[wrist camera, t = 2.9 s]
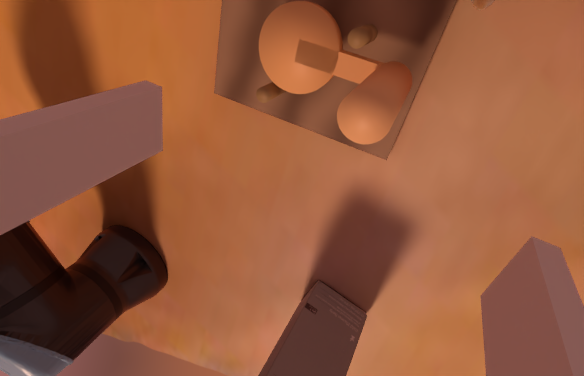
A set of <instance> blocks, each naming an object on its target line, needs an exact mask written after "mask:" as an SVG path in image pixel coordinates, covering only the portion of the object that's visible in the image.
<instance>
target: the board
mask: <svg viewBox="0 0 584 376" xmlns="http://www.w3.org/2000/svg"><path fill="white" fill-rule="evenodd" d="M293 1H308V2H313V3H316V4H318V5H320V6H322V7H323V8H324V9H326V10H327V11H328V12H329V13H330V14H331V15H332V16H333V18H334V19H335V21H336V23H337V24H338V26H339V29H340V32H341V35H342V41H343V50H345V51H348V52H352V53H355V54H358V55H361V56H364V57H367V58H370V59H373V60H376V61H379V62H382V63H386V62H390V61H396V62H400V63H402V64H404V65H405V66H407V68H408V69H409V70H410V72H411V75H412V86H411V89H410V91H409V93H408V95H407V97H406V99H405V101H404V103H403V105H402V107H401V109H400V111H399V113H398V115H397V117H396V119H395V121H394V123H393V125H392V127H391V129H390V131H389V132H388V134H387V135H386V136H385V137H384V138H383V139H381V140H380V141H378V142H376V143H373V144H358V143H355V142H353V141H351V140H349V139H348V138H347V137H346V136H345V135H344V134H343V133H342V132H341V130H340V128H339V126H338V122H337V111H338V107H339V105H340V103H341V101H342V100H343V99H344V98H345V97H346V96H347V95H348V94H349V93H350V92H351V91H352V90H354V89H355V88H356V87H357V86H358V85H359V84H358V83H355V82H352V81H349V80H346V79H343V78H340V77H337V76H335V75H334V76H333V78H332V79H331V80H330V81H329V82H328V83H326V84H325V85H324V86H322V87H321V88H319V89H318V90H316V91H313V92H311V93H307V94H294V93H290V92H287V91H285V90H283V89H281V88H279V87H278V86H277V85H276V84H274V83H273V82H272V80H271V79H270V78H269V77H268V75H267V74H266V72H265V70H264V68H263V66H262V63H261V60H260V55H259V37H260V32H261V29H262V26H263V24H264V22H265V20H266V19H267V17H268V16H269V15H270V13H271V12H272V11H273V10H275V9H276V8H277V7H279V6H280V5H282V4H285V3H288V2H293ZM456 1H457V0H222V7H221V19H220V31H219V43H218V54H217V66H216V78H215V90H214V93H215V94H218V95H220V96H223V97H226V98H228V99H231V100H233V101H236V102H238V103H241V104H244V105H246V106H249V107H251V108H254V109H256V110H259V111H262V112H264V113H267V114H269V115H272V116H274V117H277V118H280V119H282V120H285V121H287V122H290V123H292V124H295V125H298V126H300V127H303V128H305V129H308V130H310V131H313V132H316V133H318V134H321V135H323V136H326V137H328V138H331V139H334V140H336V141H339V142H341V143H344V144H346V145H349V146H352V147H354V148H357V149H359V150H362V151H364V152H367V153H370V154H372V155H375V156H377V157H380V158H382V159H385V160H387V158H388V156H389V154H390V151H391V149H392V147H393V145H394V142H395V140H396V138H397V135H398V133H399V131H400V129H401V126H402V124H403V122H404V119H405V117H406V115H407V113H408V110H409V108H410V106H411V103H412V101H413V99H414V97H415V94H416V92H417V90H418V87H419V85H420V83H421V81H422V78H423V76H424V74H425V72H426V69H427V67H428V65H429V62H430V60H431V58H432V56H433V53H434V51H435V49H436V46H437V44H438V42H439V40H440V37H441V35H442V33H443V30H444V28H445V26H446V24H447V21H448V19H449V17H450V14H451V12H452V10H453V8H454V5H455V3H456Z"/></svg>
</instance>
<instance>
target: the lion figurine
mask: <svg viewBox="0 0 584 376" xmlns="http://www.w3.org/2000/svg"><path fill="white" fill-rule="evenodd" d="M471 1H472V3H473V6H474V7H475V8H476V9H478V10H484V9H486V8H487V7H488V6H489V5H491V4H492V3H493V2H494V1H495V0H471Z"/></svg>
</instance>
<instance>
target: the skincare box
mask: <svg viewBox="0 0 584 376" xmlns="http://www.w3.org/2000/svg"><path fill="white" fill-rule="evenodd" d="M366 317H367V315H366V312H365V311H363V310H362V309H360V308H358V307H357V306H355V305H354V304H352V303H351V302H349V301H348V300H346V299H345V298H344V297H342V296H341V295H339V294H338V293H337V292H335V291H334V290H332V289H331V288H329V287H328V286H327V285H325V284H323V283H322V282H321V281H317V282H316V284H315V285H314V286H313V287H312V288H311V290H310V291H309V292H308V293H307V295H306V296H305V297H304V298H303V299H302V301H301V302H300V304H299V305H298V307H297V309H296V311H295V312H294V314H293V316H292V318H291V319H290V321H289V323H288V325H287V326H286V328H285V330H284V332H283V333H282V335H281V337H280V339H279V340H278V342H277V344H276V346H275V347H274V349H273V351H272V353H271V354H270V356H269V358H268V360H267V362H266V363H265V365H264V367H263V369H262V370H261V372H260V374H259V375H258V376H346V374H347V371H348V369H349V366H350V363H351V360H352V357H353V355H354V352H355V349H356V346H357V343H358V340H359V338H360V335H361V332H362V329H363V326H364V323H365V320H366Z"/></svg>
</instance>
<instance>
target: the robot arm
mask: <svg viewBox="0 0 584 376" xmlns="http://www.w3.org/2000/svg"><path fill="white" fill-rule="evenodd" d="M161 151H163V142H162V87H161V86H158V85H156V84H153V83H151V82H148V81H142V82H138V83H134V84H131V85H127V86H123V87H120V88H116V89H112V90H109V91H105V92H101V93H97V94H94V95H90V96H86V97H83V98H79V99H75V100H72V101H68V102H64V103H60V104H57V105H53V106H49V107H46V108H42V109H38V110H35V111H31V112H27V113H23V114H20V115H16V116H12V117H9V118H5V119H1V120H0V370H1V371H3V372H5V373H6V374H8V375H10V376H56V375H57V374H58V373H59V372H61V371H62V370H63V369H64V368H65V367H66V366H67V365H70V364H71V363H73V360H74V359H75V358H77V357H78V356H79V355H80V354H81V353H82V352H83V351H84V350H85V349H86V348H87V347H88V346H89V345H90V344H91V343H92V342H93V341H94V340H95V339H96V338H97V337H98V336H99V335H100V334H102V333H103V332H104V331H105V330H106V329H107V328H108V327H109V326H110V325H111V324H112V323H113V322H114V321H115V320H116V319H117V318H118V317H119V316H120V315H121V314H122V313H124V312H125V311H127V310H128V309H130V308H132V307H134V306H136V305H138V304H140V303H142V302H144V301H146V300H148V299H149V298H152V297H154V296H155V295H156V294H157V293H158V292H159V291H160V290H161V289H162V288H163V287H164V286H165V285H166V282H167V272H166V268H165V265H164V263H163V261H162V259H161V257H160V256H159V254H158V253H157V251H156V250H155V249H154V248H153V247H152V245H151V244H150V243H149V242H148V241H147V240H145V239H144V238H143V237H142V236H141V235H139V234H138V233H136V232H135V231H133V230H131V229H129V228H126V227H123V226H110V227H108V228H107V229H105V230H104V231H102V232H101V233H99V234H98V235H97V236H96V237H95V239H94V240H93V241H92V243H91V244H90V245H89V246H88V248H87V249H86V250H85V251H84V253H83V254H82V255H81V256H80V258H79V259H78V260H77V261H76V262H75V263H74V264H72V265H71V266H69V267H68V268H67V269H64V267H63V266H62V265H61V263H60V262H59V261H58V259H57V258H56V257H55V255H54V254H53V253H52V252H51V250H50V249H49V248H48V246H47V245H46V244H45V242H44V241H43V240H42V239H41V237H40V236H39V235H38V233H37V232H36V231H35V229H34V228H33V227H32V226H31V224H30V223H29V222H30V221H29V220H31V219H33V218H34V217H36V216H38V215H40V214H42V213H44V212H46V211H48V210H50V209H52V208H54V207H56V206H57V205H59V204H61V203H63V202H65V201H67V200H69V199H71V198H73V197H75V196H77V195H79V194H80V193H82V192H84V191H86V190H88V189H90V188H92V187H94V186H96V185H98V184H100V183H102V182H103V181H105V180H107V179H109V178H111V177H113V176H115V175H117V174H119V173H121V172H123V171H125V170H126V169H128V168H130V167H132V166H134V165H136V164H138V163H140V162H142V161H144V160H146V159H148V158H149V157H151V156H153V155H155V154H157V153H159V152H161ZM481 308H482V322H483V337H484V351H485V365H486V376H584V306H583V304H582V301H581V299H580V296H579V294H578V291H577V289H576V286H575V284H574V281H573V279H572V276H571V273H570V271H569V268H568V266H567V263H566V261H565V258H564V256H563V253H562V251H561V248H559V247H557V246H554V245H552V244H549V243H547V242H544V241H542V240H539V239H537V238H534V237H531V238H530V239H529V240H528V241H527V242H526V244H525V245H524V246H523V247H522V248H521V249H520V251H519V252H518V253H517V254H516V255H515V256H514V258H513V259H512V260H511V261H510V262H509V263H508V265H507V266H506V267H505V268H504V269H503V270H502V271H501V273H500V274H499V275H498V276H497V277H496V278H495V280H494V281H493V282H492V283H491V284H490V285H489V287H488V288H487V289H486V290H485V291H484V292H483V294H482V295H481Z"/></svg>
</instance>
